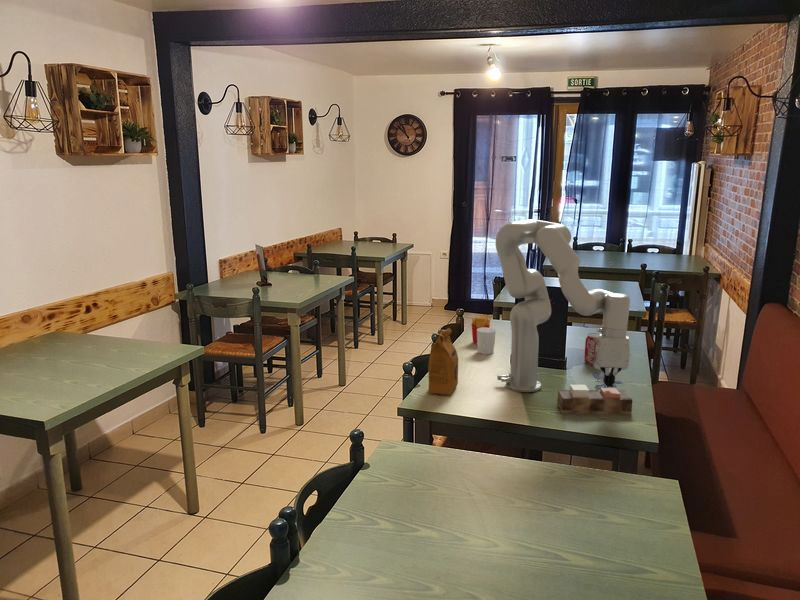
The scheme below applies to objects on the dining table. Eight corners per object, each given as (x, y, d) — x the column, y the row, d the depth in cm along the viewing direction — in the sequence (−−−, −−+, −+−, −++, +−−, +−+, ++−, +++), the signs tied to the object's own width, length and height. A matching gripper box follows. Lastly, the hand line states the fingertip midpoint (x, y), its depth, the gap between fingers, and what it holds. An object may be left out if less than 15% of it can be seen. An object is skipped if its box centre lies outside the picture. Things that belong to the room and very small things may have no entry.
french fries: (470, 343, 274) (471, 317, 271) (472, 340, 277) (473, 315, 275) (489, 344, 271) (489, 318, 269) (490, 342, 275) (491, 316, 272)
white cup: (473, 350, 263) (473, 328, 261) (490, 348, 265) (490, 326, 263) (481, 355, 256) (481, 333, 254) (498, 354, 258) (498, 331, 256)
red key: (603, 404, 197) (604, 393, 196) (599, 398, 201) (600, 387, 201) (619, 404, 196) (620, 393, 195) (614, 399, 201) (615, 388, 200)
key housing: (562, 413, 196) (563, 398, 195) (557, 403, 204) (558, 389, 203) (631, 414, 195) (632, 399, 194) (623, 404, 203) (624, 390, 202)
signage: (593, 372, 233) (620, 374, 231) (592, 374, 234) (620, 376, 231) (596, 399, 207) (627, 402, 204) (596, 401, 207) (627, 404, 204)
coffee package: (462, 386, 220) (463, 328, 215) (450, 398, 209) (451, 337, 204) (436, 382, 224) (437, 325, 219) (424, 394, 213) (424, 334, 208)
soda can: (604, 366, 241) (606, 337, 239) (586, 366, 242) (588, 337, 239) (599, 361, 248) (601, 332, 246) (581, 360, 248) (583, 332, 246)
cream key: (572, 401, 197) (573, 389, 196) (569, 395, 202) (570, 384, 201) (588, 401, 197) (589, 390, 196) (584, 395, 201) (585, 384, 201)
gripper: (593, 334, 190) (588, 389, 195) (641, 336, 190) (635, 390, 194) (587, 328, 198) (582, 380, 202) (634, 329, 197) (628, 382, 201)
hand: (608, 385), depth 198 cm, fingers closed
